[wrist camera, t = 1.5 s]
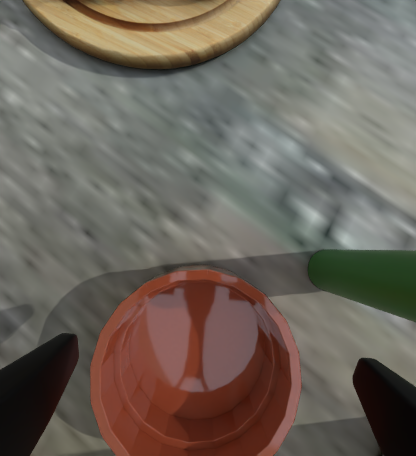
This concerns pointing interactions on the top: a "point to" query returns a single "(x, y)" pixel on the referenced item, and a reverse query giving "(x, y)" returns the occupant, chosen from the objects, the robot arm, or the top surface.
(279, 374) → the pot
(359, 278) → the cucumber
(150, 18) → the wooden plate
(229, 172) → the top surface
